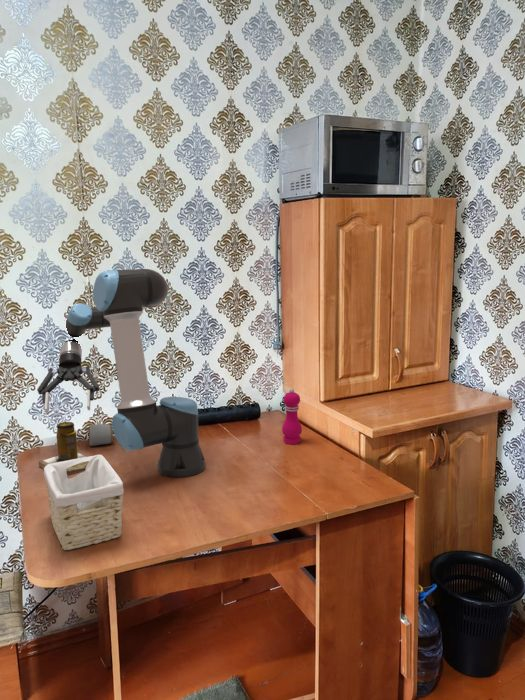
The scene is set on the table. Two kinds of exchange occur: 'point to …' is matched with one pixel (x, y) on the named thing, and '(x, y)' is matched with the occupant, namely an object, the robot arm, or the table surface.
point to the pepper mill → (291, 418)
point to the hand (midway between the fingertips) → (67, 409)
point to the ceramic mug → (100, 434)
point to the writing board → (53, 460)
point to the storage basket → (84, 501)
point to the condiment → (66, 442)
